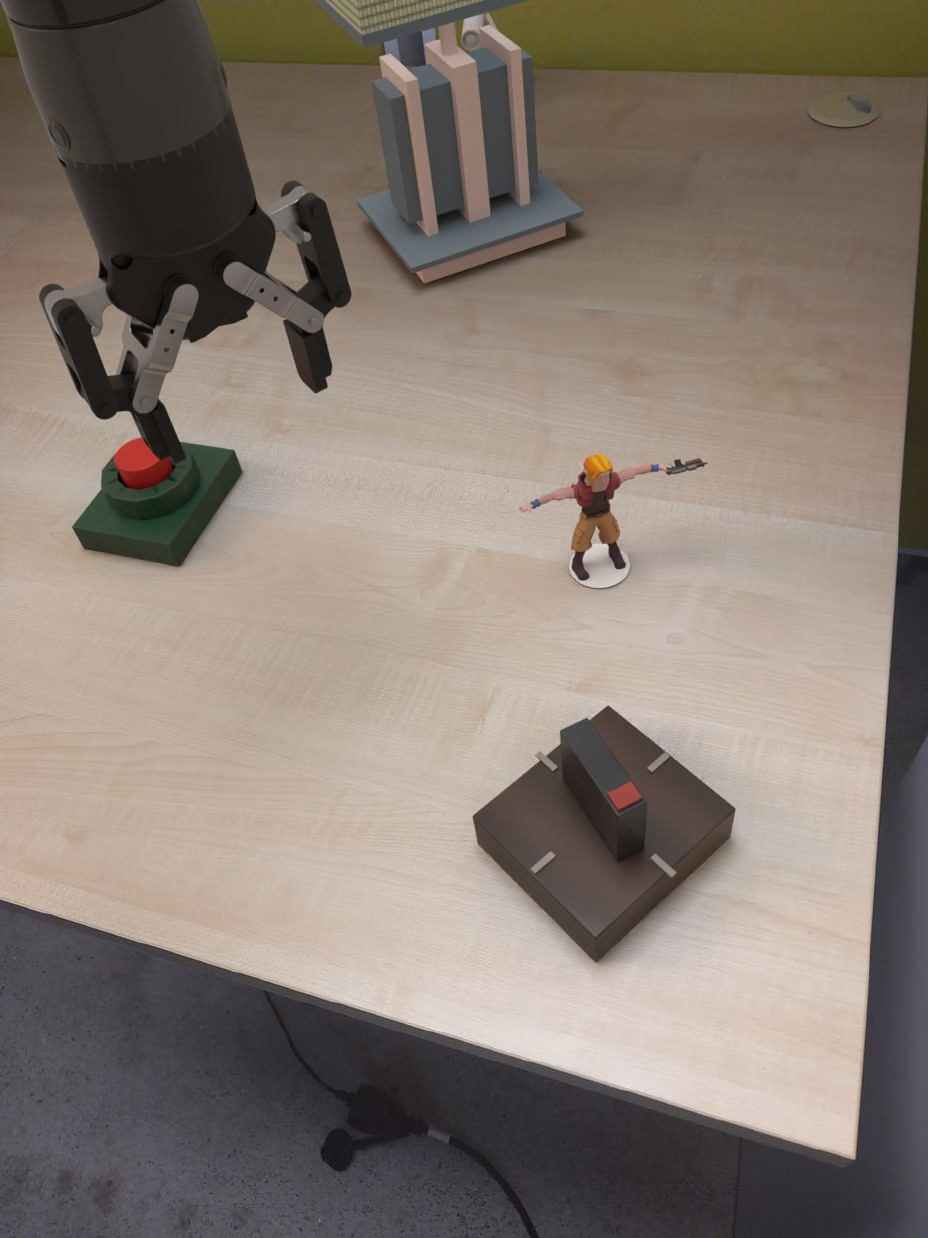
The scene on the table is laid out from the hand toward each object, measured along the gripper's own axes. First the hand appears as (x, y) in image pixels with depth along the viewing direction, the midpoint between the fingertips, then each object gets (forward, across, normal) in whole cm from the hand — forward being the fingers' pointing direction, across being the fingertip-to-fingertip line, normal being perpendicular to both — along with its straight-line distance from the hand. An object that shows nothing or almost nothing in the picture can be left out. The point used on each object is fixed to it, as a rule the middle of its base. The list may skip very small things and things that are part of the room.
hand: (245, 419), depth 55 cm
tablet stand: (+17, -54, -54) cm, 78 cm away
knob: (+13, -4, +24) cm, 28 cm away
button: (+13, +4, -16) cm, 21 cm away
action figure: (+17, -18, +9) cm, 26 cm away
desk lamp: (+17, -35, -32) cm, 50 cm away
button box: (+16, +4, -16) cm, 23 cm away
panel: (+16, -4, +24) cm, 30 cm away
